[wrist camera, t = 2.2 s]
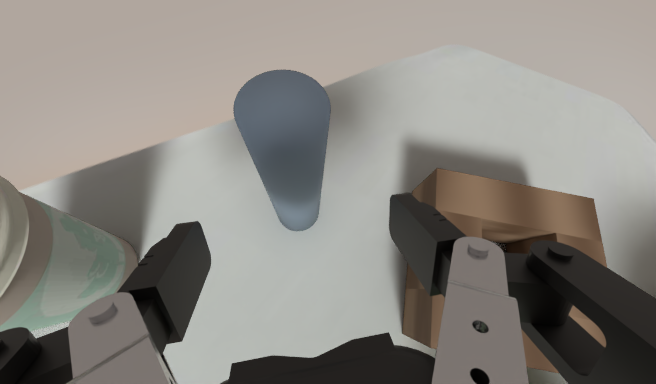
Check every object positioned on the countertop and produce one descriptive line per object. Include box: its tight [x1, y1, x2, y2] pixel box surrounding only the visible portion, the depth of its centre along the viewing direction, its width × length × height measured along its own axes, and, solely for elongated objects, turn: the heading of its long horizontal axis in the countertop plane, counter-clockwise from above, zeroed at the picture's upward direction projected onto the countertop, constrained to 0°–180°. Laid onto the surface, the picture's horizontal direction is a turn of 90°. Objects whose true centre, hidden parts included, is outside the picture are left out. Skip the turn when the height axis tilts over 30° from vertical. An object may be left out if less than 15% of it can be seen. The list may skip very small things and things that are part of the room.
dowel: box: [234, 70, 331, 231], centre depth 16 cm, size 4×4×14 cm
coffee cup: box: [0, 176, 138, 332], centre depth 14 cm, size 8×8×12 cm
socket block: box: [402, 168, 607, 373], centre depth 20 cm, size 12×12×5 cm
